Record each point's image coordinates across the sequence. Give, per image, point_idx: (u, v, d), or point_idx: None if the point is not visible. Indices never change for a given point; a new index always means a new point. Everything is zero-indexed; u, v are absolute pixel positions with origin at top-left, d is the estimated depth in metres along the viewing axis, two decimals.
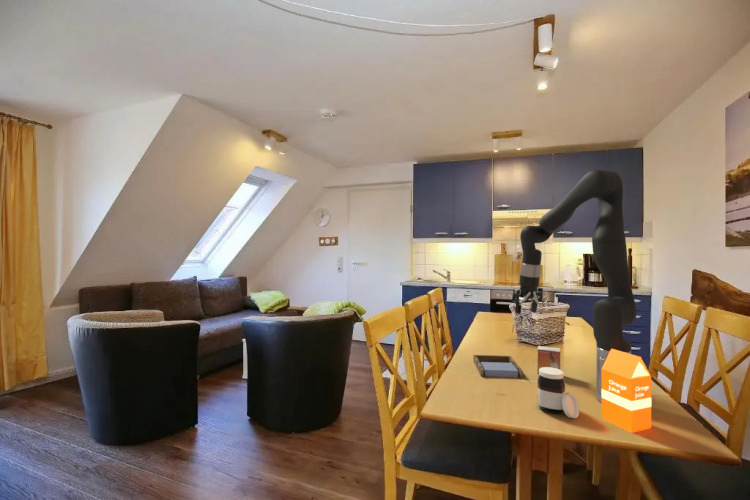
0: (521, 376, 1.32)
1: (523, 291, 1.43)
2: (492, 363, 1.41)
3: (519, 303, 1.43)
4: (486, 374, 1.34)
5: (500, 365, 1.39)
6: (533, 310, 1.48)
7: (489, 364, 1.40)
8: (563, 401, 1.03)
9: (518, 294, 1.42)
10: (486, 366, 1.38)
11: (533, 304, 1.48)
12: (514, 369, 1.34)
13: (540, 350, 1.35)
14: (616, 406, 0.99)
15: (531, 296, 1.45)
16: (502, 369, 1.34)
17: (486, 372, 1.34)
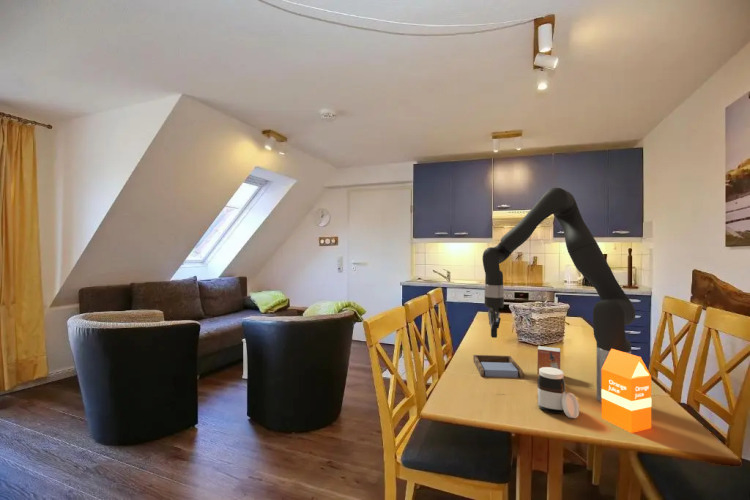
0: (521, 376, 1.32)
1: None
2: (492, 363, 1.41)
3: (497, 327, 1.45)
4: (486, 374, 1.34)
5: (500, 365, 1.39)
6: None
7: (489, 364, 1.40)
8: (563, 401, 1.03)
9: (499, 321, 1.41)
10: (486, 366, 1.38)
11: None
12: (514, 369, 1.34)
13: (540, 350, 1.35)
14: (616, 406, 0.99)
15: None
16: (502, 369, 1.34)
17: (486, 372, 1.34)
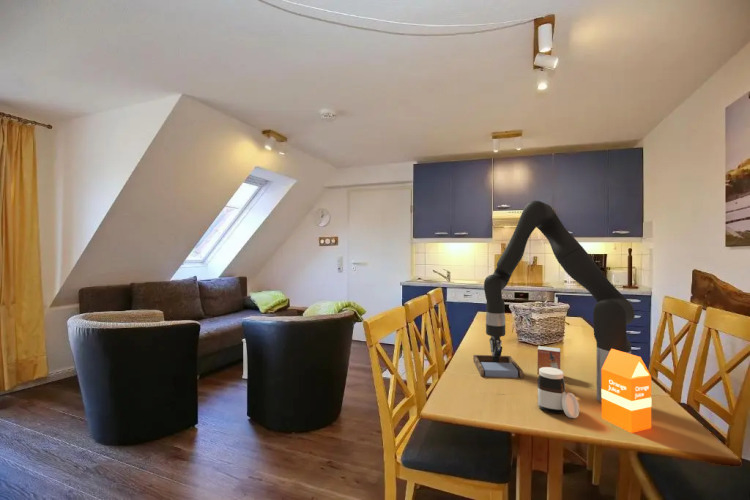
0: (521, 376, 1.32)
1: None
2: (492, 363, 1.41)
3: None
4: (486, 374, 1.34)
5: (500, 365, 1.39)
6: None
7: (489, 364, 1.40)
8: (563, 401, 1.03)
9: None
10: (486, 366, 1.38)
11: None
12: (514, 369, 1.34)
13: (540, 350, 1.35)
14: (616, 406, 0.99)
15: None
16: (502, 369, 1.34)
17: (486, 372, 1.34)
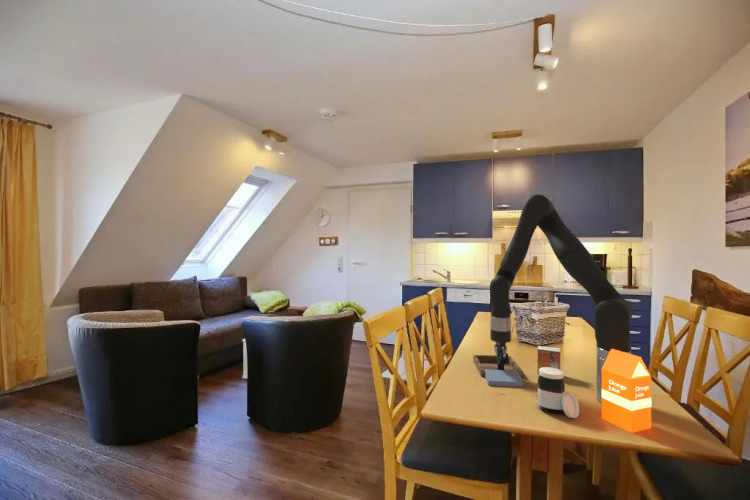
0: (521, 376, 1.32)
1: None
2: (496, 371, 1.32)
3: (504, 363, 1.33)
4: None
5: (504, 374, 1.30)
6: None
7: (493, 373, 1.31)
8: (563, 401, 1.03)
9: None
10: (490, 375, 1.29)
11: None
12: (520, 380, 1.25)
13: (540, 350, 1.35)
14: (616, 406, 0.99)
15: None
16: (507, 380, 1.25)
17: (489, 383, 1.25)
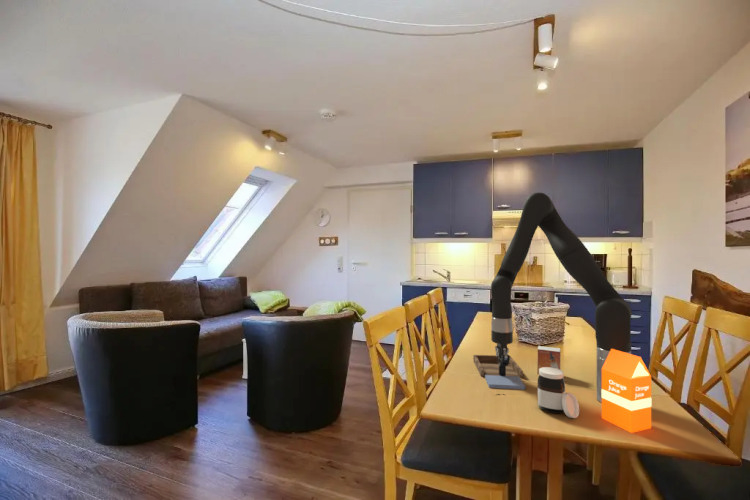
0: (521, 376, 1.32)
1: None
2: (497, 377, 1.30)
3: (506, 365, 1.31)
4: None
5: (505, 378, 1.28)
6: None
7: (494, 378, 1.29)
8: (563, 401, 1.03)
9: None
10: (491, 380, 1.27)
11: None
12: (521, 384, 1.23)
13: (540, 350, 1.35)
14: (616, 406, 0.99)
15: None
16: (508, 384, 1.23)
17: (490, 387, 1.23)
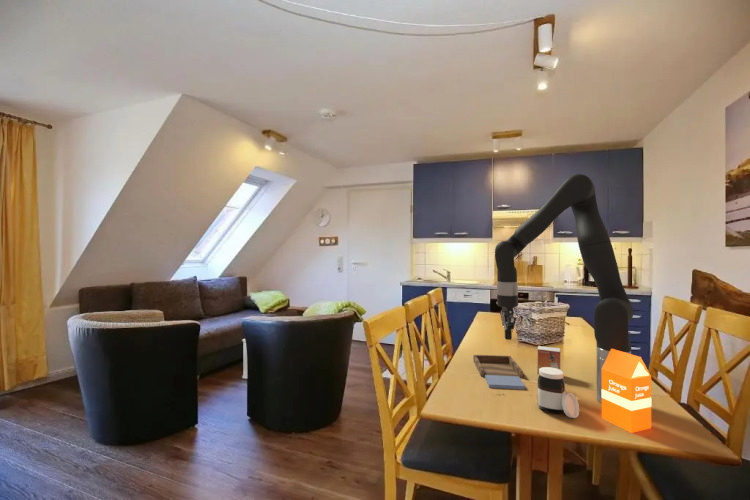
0: (521, 376, 1.32)
1: None
2: (497, 376, 1.30)
3: (512, 328, 1.32)
4: None
5: (505, 378, 1.28)
6: None
7: (494, 378, 1.29)
8: (563, 401, 1.03)
9: None
10: (491, 380, 1.27)
11: None
12: (521, 384, 1.23)
13: (540, 350, 1.35)
14: (616, 406, 0.99)
15: None
16: (508, 384, 1.23)
17: (490, 387, 1.23)
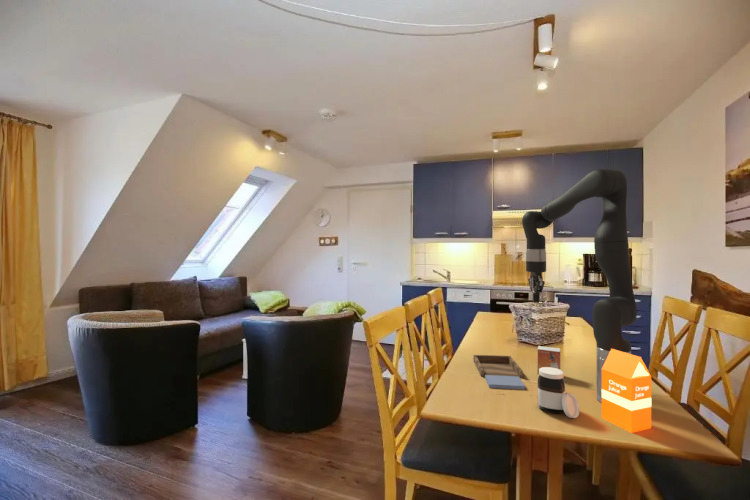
0: (521, 376, 1.32)
1: None
2: (497, 376, 1.30)
3: (540, 292, 1.43)
4: None
5: (505, 378, 1.28)
6: None
7: (494, 378, 1.29)
8: (563, 401, 1.03)
9: None
10: (491, 380, 1.27)
11: None
12: (521, 384, 1.23)
13: (540, 350, 1.35)
14: (616, 406, 0.99)
15: None
16: (508, 384, 1.23)
17: (490, 387, 1.23)
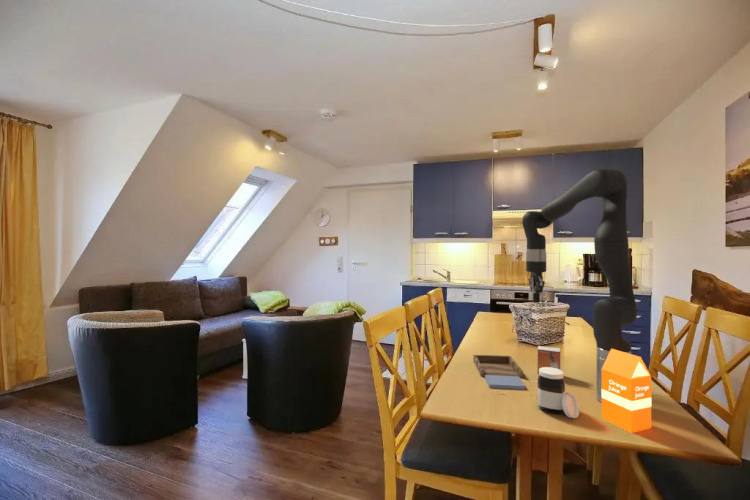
0: (521, 376, 1.32)
1: None
2: (497, 376, 1.30)
3: (540, 292, 1.43)
4: None
5: (505, 378, 1.28)
6: None
7: (494, 378, 1.29)
8: (563, 401, 1.03)
9: None
10: (491, 380, 1.27)
11: None
12: (521, 384, 1.23)
13: (540, 350, 1.35)
14: (616, 406, 0.99)
15: None
16: (508, 384, 1.23)
17: (490, 387, 1.23)
